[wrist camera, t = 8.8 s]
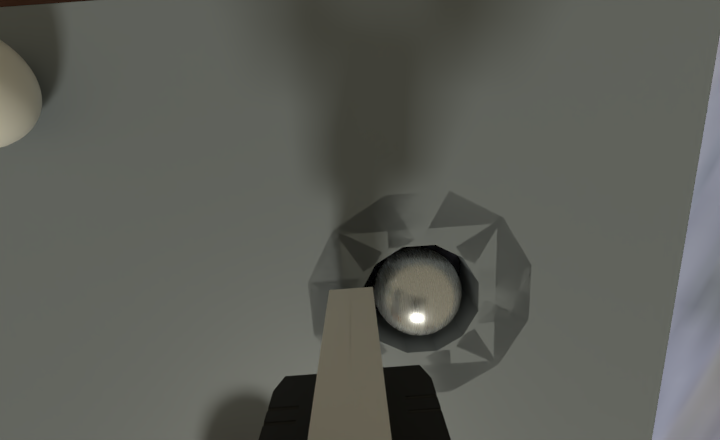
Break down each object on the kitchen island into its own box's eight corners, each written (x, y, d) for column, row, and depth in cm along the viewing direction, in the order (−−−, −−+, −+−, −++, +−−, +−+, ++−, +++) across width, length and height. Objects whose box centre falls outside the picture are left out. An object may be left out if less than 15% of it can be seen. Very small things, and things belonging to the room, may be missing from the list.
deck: (4, 497, 19) (-47, 551, 17) (-185, 46, 13) (-303, 28, 11) (604, 452, 19) (641, 499, 17) (664, -15, 13) (733, -46, 11)
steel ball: (390, 362, 13) (479, 343, 14) (382, 272, 12) (477, 256, 13) (369, 316, 16) (441, 303, 17) (362, 243, 15) (438, 232, 16)
